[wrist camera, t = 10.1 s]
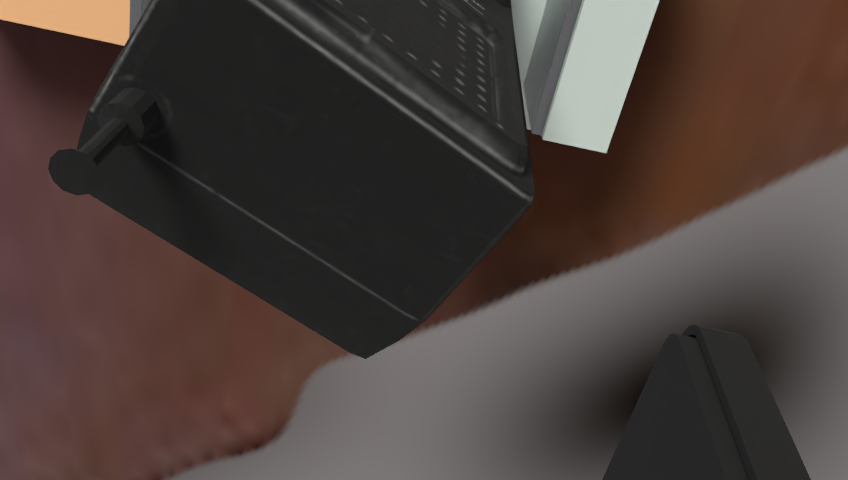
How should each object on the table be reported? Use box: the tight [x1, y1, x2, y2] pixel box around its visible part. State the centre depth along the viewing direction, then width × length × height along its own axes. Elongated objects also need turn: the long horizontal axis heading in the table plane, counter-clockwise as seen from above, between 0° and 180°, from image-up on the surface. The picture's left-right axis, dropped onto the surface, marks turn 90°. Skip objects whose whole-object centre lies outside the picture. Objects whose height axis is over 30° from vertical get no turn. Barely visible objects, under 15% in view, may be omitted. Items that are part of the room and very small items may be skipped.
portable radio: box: [48, 0, 535, 359], centre depth 22 cm, size 8×6×25 cm
